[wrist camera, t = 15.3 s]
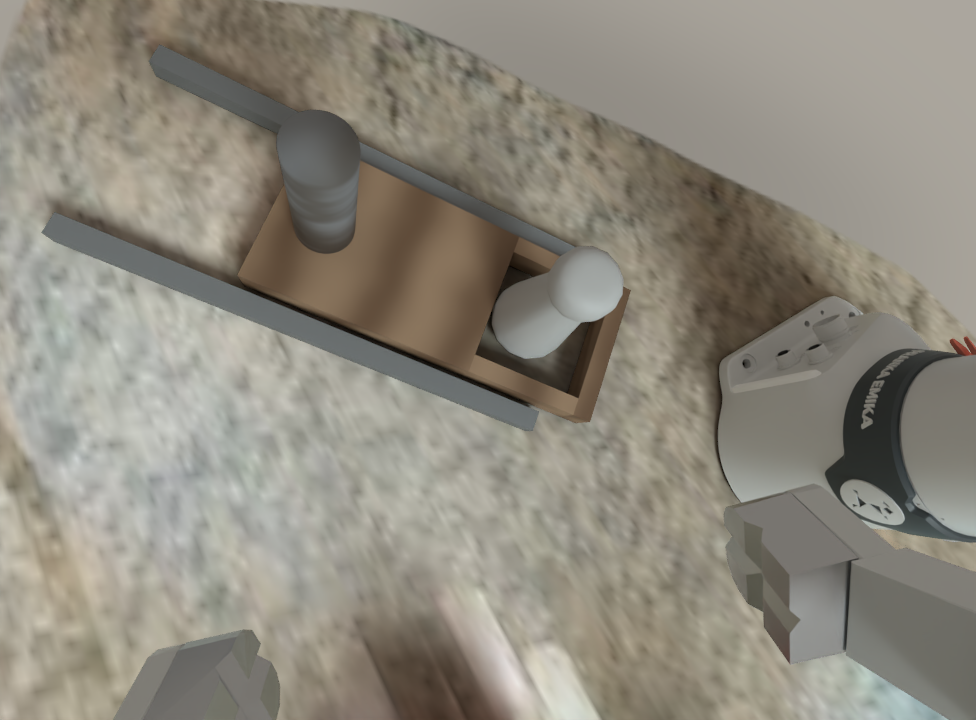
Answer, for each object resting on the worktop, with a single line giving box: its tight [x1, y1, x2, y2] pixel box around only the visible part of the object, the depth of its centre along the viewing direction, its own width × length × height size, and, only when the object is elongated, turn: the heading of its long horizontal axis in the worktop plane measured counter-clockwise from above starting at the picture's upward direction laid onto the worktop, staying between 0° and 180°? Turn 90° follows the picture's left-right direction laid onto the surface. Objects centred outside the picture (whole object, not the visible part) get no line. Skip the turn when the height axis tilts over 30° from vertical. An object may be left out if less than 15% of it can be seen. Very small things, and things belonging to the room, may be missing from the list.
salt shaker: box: [491, 246, 623, 359], centre depth 35 cm, size 6×6×13 cm
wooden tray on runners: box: [238, 110, 631, 423], centre depth 34 cm, size 26×11×12 cm, turn 70°
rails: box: [42, 44, 576, 431], centre depth 38 cm, size 34×15×2 cm, turn 70°
